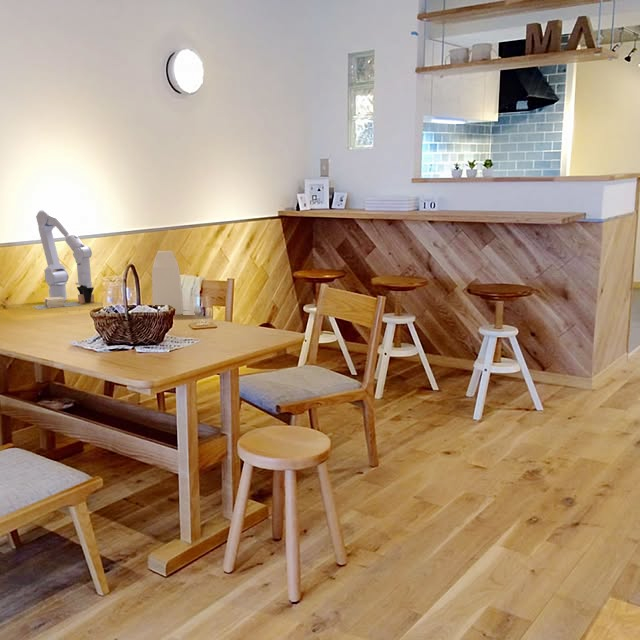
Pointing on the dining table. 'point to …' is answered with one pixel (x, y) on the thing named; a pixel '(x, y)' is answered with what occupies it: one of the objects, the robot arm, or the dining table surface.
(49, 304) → the birch block
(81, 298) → the terracotta brick
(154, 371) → the dining table surface
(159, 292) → the milk
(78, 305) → the baseplate
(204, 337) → the dining table surface
